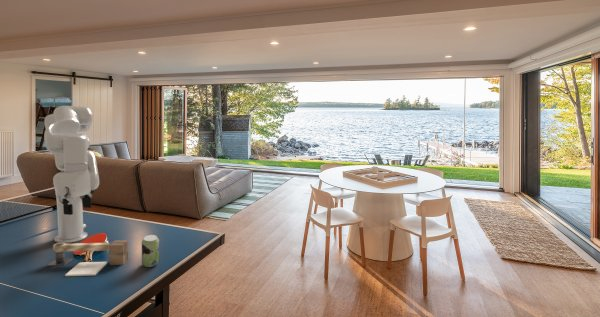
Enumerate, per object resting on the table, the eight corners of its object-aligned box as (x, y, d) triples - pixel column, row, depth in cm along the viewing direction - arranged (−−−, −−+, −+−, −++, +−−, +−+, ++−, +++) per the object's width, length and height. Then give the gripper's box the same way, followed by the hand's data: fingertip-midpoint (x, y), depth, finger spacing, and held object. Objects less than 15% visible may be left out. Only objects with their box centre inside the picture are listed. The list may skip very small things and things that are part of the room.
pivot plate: (56, 259, 130) (56, 258, 130) (72, 258, 131) (72, 258, 131) (47, 265, 124) (47, 265, 124) (64, 265, 125) (64, 264, 125)
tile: (79, 263, 127) (79, 262, 127) (107, 263, 128) (107, 261, 128) (65, 276, 117) (65, 274, 117) (95, 275, 119) (95, 273, 118)
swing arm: (51, 262, 125) (50, 246, 125) (57, 258, 129) (56, 242, 128) (107, 261, 128) (106, 245, 127) (111, 257, 132) (111, 241, 131)
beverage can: (155, 260, 133) (154, 231, 131) (162, 266, 128) (161, 236, 126) (138, 264, 128) (138, 235, 127) (145, 271, 123) (145, 240, 122)
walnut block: (115, 259, 132) (114, 240, 131) (128, 259, 133) (127, 240, 132) (109, 264, 127) (109, 245, 126) (123, 264, 128) (122, 245, 127)
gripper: (83, 163, 133) (85, 204, 136) (47, 170, 116) (50, 216, 118) (101, 164, 133) (102, 205, 135) (67, 171, 116) (69, 218, 118)
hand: (78, 210), depth 127 cm, fingers open, 9 cm apart
